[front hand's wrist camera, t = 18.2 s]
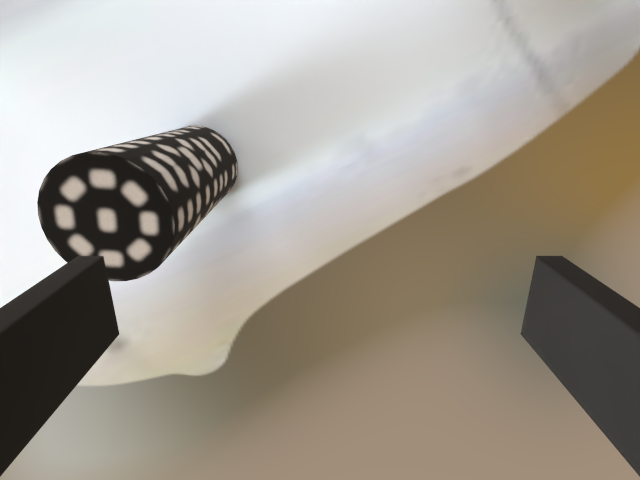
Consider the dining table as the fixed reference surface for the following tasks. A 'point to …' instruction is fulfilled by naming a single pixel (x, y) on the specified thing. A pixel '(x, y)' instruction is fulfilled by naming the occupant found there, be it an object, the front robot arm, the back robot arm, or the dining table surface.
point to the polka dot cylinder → (135, 198)
